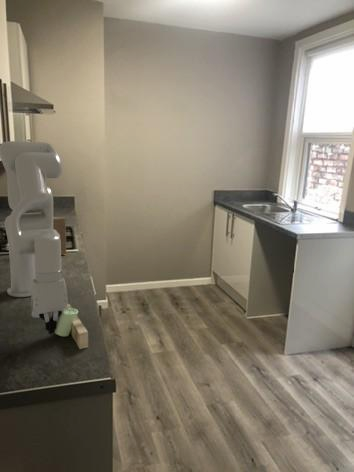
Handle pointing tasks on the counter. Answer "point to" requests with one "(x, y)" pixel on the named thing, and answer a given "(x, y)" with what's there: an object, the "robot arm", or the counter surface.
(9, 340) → the counter surface
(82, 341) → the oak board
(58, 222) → the decorative block
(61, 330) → the candle
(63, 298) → the robot arm
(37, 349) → the counter surface
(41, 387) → the counter surface
